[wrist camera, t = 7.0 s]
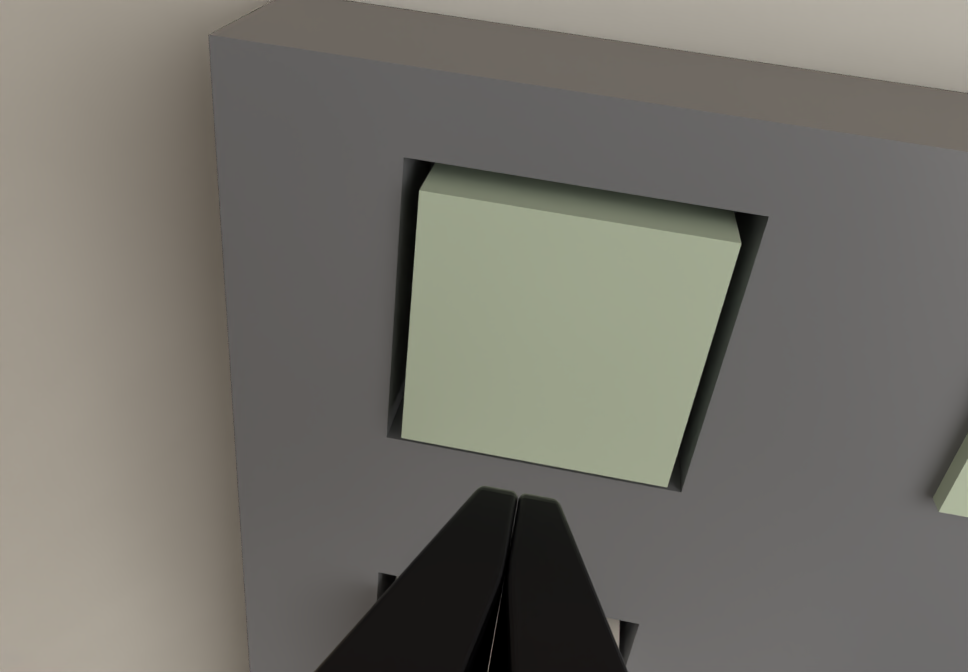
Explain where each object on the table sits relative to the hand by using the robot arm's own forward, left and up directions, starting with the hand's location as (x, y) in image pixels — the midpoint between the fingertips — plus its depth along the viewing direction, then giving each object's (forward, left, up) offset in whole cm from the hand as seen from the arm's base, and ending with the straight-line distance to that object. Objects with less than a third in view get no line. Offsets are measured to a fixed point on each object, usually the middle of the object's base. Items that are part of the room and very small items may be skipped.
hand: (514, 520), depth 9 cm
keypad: (-8, -2, -7) cm, 11 cm away
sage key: (0, 0, -6) cm, 6 cm away
